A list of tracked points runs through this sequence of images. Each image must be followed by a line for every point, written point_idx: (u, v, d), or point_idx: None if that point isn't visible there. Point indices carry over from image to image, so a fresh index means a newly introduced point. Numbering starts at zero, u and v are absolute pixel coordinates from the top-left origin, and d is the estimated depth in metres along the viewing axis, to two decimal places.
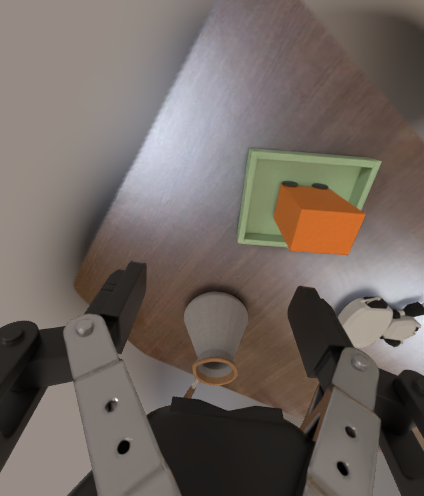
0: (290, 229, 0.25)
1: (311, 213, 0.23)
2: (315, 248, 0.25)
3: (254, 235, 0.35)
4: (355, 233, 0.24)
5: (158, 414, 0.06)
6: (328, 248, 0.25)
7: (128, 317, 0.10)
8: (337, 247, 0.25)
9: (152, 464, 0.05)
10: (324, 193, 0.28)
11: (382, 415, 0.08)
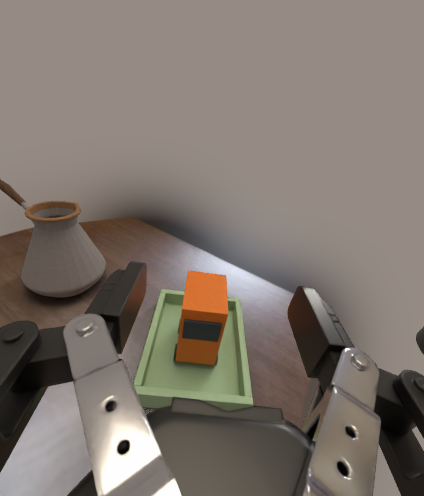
0: None
1: (223, 280, 0.28)
2: (190, 284, 0.27)
3: (163, 307, 0.35)
4: (207, 310, 0.24)
5: (158, 414, 0.06)
6: (190, 293, 0.25)
7: (128, 317, 0.10)
8: (191, 299, 0.25)
9: (152, 464, 0.05)
10: None
11: (382, 415, 0.08)
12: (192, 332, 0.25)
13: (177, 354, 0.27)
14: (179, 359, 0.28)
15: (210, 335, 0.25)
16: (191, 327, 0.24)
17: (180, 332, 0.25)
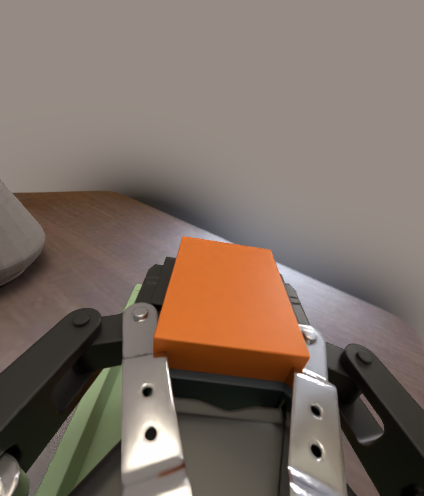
0: None
1: (267, 259, 0.12)
2: (186, 265, 0.10)
3: None
4: (241, 341, 0.07)
5: None
6: (185, 287, 0.09)
7: None
8: (188, 304, 0.08)
9: (172, 460, 0.05)
10: None
11: None
12: None
13: None
14: None
15: None
16: (186, 394, 0.08)
17: None
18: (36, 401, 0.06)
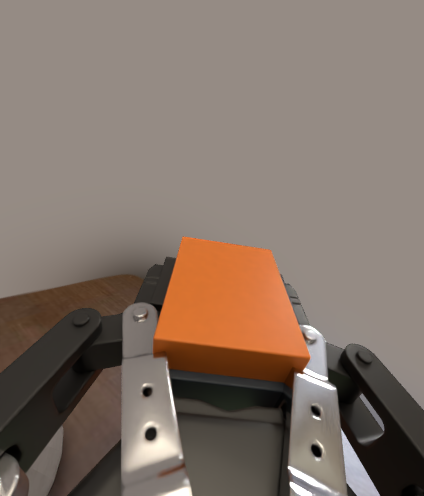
0: None
1: (267, 259, 0.12)
2: (186, 266, 0.10)
3: None
4: (241, 342, 0.07)
5: None
6: (185, 288, 0.09)
7: None
8: (188, 305, 0.08)
9: (172, 460, 0.05)
10: None
11: None
12: None
13: None
14: None
15: None
16: (186, 395, 0.08)
17: None
18: (36, 401, 0.06)
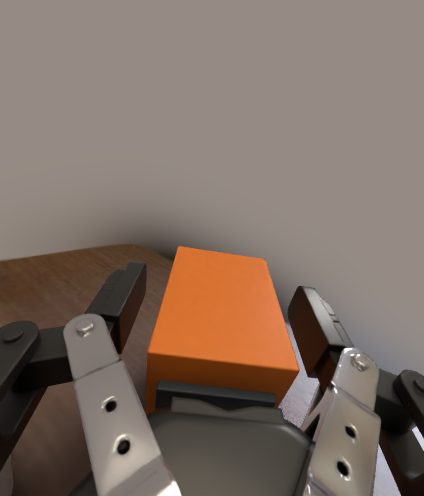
0: None
1: (261, 268, 0.12)
2: (181, 277, 0.10)
3: None
4: (233, 355, 0.07)
5: (158, 414, 0.06)
6: (180, 300, 0.09)
7: (128, 317, 0.10)
8: (181, 318, 0.08)
9: (151, 464, 0.05)
10: None
11: (382, 415, 0.08)
12: None
13: None
14: None
15: None
16: None
17: (149, 412, 0.09)
18: None
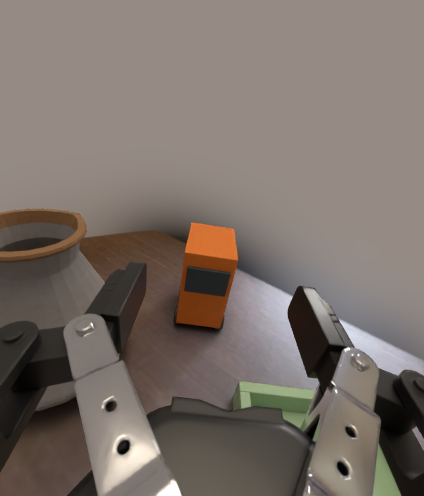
0: None
1: (231, 232, 0.25)
2: (194, 233, 0.24)
3: None
4: (214, 255, 0.21)
5: (158, 414, 0.06)
6: (194, 240, 0.22)
7: (128, 317, 0.10)
8: (195, 245, 0.22)
9: (152, 464, 0.05)
10: None
11: (382, 415, 0.08)
12: (196, 283, 0.22)
13: (178, 313, 0.24)
14: (180, 320, 0.25)
15: (216, 288, 0.22)
16: (195, 276, 0.21)
17: (182, 284, 0.22)
18: None
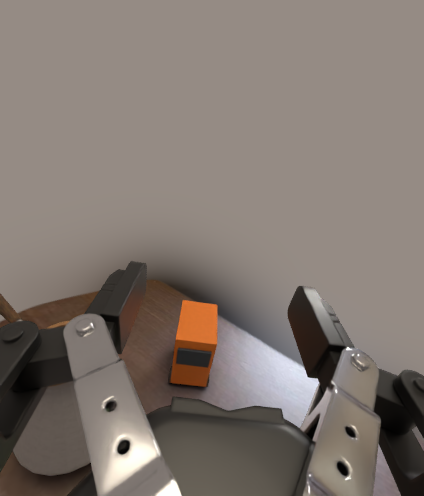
0: None
1: (214, 309, 0.31)
2: (184, 314, 0.30)
3: None
4: (198, 340, 0.27)
5: (158, 414, 0.06)
6: (184, 323, 0.29)
7: (128, 317, 0.10)
8: (184, 329, 0.28)
9: (152, 464, 0.05)
10: None
11: (382, 415, 0.08)
12: (185, 359, 0.28)
13: (172, 377, 0.30)
14: (173, 381, 0.31)
15: (200, 362, 0.28)
16: (184, 355, 0.27)
17: (174, 358, 0.28)
18: None
